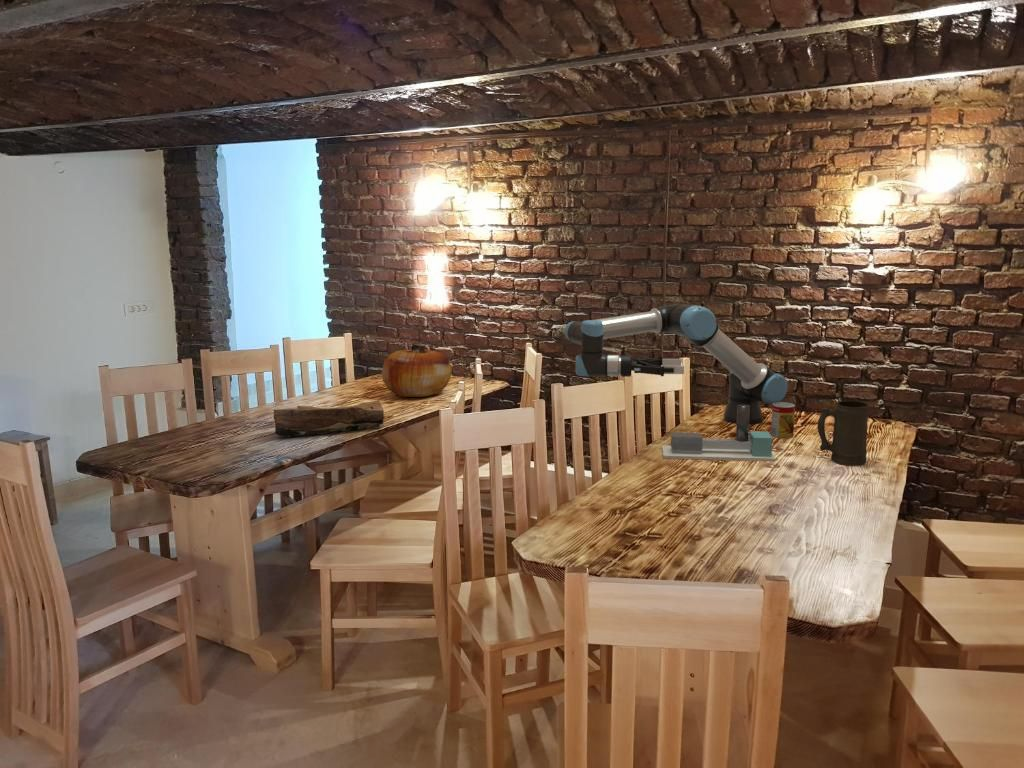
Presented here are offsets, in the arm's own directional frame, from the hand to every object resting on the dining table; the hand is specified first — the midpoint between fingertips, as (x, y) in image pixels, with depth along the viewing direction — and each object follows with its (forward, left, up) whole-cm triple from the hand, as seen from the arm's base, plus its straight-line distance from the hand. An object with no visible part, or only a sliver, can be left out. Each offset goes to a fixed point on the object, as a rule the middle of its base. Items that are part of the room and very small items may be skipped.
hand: (682, 366), depth 253 cm
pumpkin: (+39, -139, -30) cm, 147 cm away
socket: (-17, +20, -29) cm, 39 cm away
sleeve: (+1, +4, -29) cm, 29 cm away
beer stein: (-34, +39, -30) cm, 60 cm away
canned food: (-43, +8, -30) cm, 54 cm away
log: (+95, -98, -30) cm, 140 cm away
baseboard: (-6, +11, -30) cm, 33 cm away
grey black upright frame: (-10, +14, -28) cm, 32 cm away
